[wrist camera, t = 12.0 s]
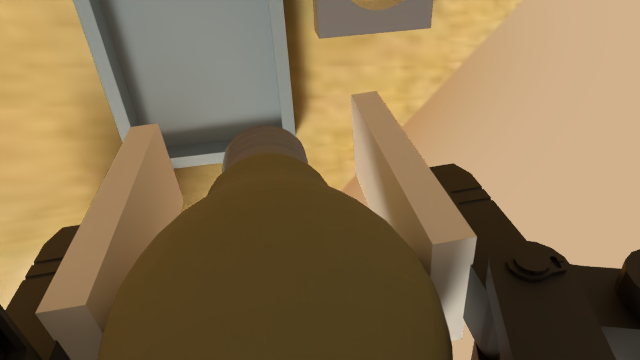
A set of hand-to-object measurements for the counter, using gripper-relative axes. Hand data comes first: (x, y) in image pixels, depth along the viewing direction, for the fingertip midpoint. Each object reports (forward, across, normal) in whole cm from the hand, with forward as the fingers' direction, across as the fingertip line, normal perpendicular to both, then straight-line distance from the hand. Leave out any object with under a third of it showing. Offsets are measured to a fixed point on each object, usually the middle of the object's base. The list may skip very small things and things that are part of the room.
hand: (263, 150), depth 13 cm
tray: (+17, -4, -2) cm, 17 cm away
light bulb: (+1, 0, 0) cm, 1 cm away
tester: (+17, +7, +3) cm, 19 cm away
